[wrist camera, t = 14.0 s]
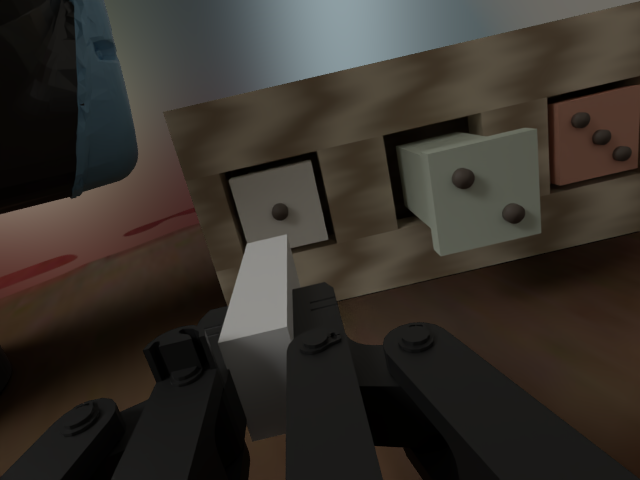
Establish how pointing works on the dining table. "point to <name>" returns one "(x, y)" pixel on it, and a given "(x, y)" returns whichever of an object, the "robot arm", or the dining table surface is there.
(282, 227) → the button
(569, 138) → the button
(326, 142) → the console
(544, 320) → the dining table surface
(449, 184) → the button
